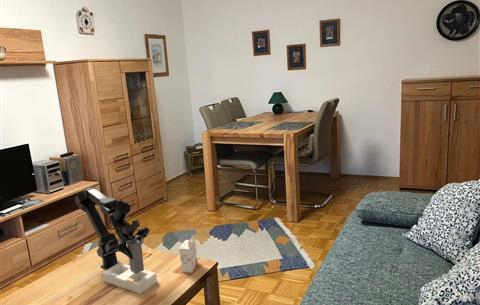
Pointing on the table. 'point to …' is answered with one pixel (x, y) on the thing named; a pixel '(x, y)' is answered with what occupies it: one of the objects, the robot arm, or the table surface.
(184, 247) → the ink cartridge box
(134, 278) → the socket block
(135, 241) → the plug
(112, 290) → the table surface
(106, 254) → the robot arm
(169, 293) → the table surface
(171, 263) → the table surface
